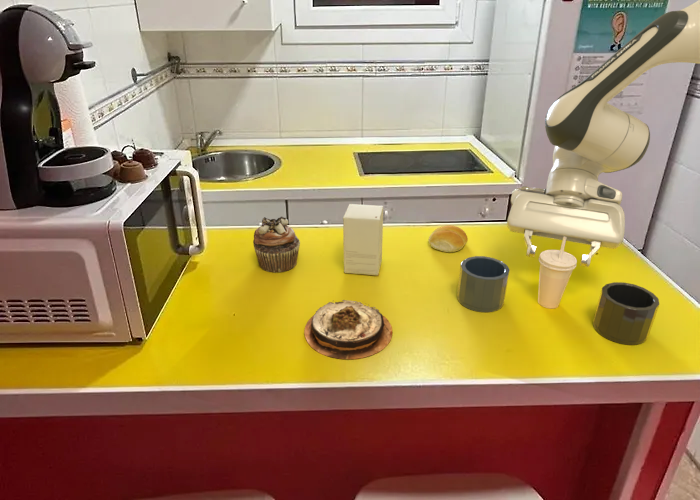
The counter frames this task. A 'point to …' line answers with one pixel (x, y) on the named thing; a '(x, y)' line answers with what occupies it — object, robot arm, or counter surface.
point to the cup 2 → (625, 313)
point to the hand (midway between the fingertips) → (557, 260)
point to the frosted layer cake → (348, 330)
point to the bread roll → (448, 238)
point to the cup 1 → (482, 283)
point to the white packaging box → (363, 239)
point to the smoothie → (554, 275)
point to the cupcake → (276, 245)
